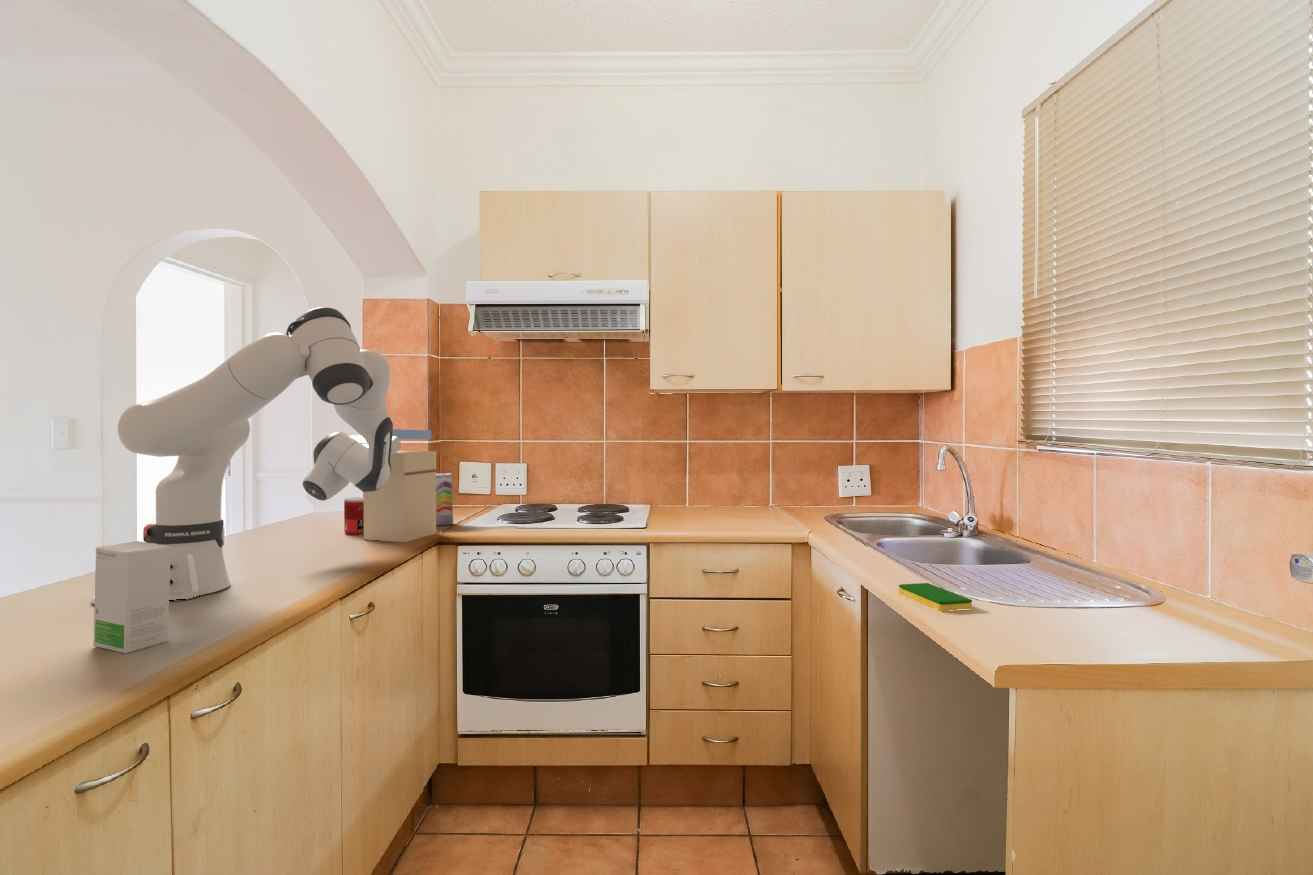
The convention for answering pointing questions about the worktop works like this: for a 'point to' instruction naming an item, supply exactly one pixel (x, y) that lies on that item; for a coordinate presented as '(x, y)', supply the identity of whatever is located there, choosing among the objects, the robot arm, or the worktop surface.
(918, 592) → the dish sponge
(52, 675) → the worktop surface
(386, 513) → the kraft carton
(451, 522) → the cake pan box
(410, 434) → the bar
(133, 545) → the skincare box
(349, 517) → the canned food
